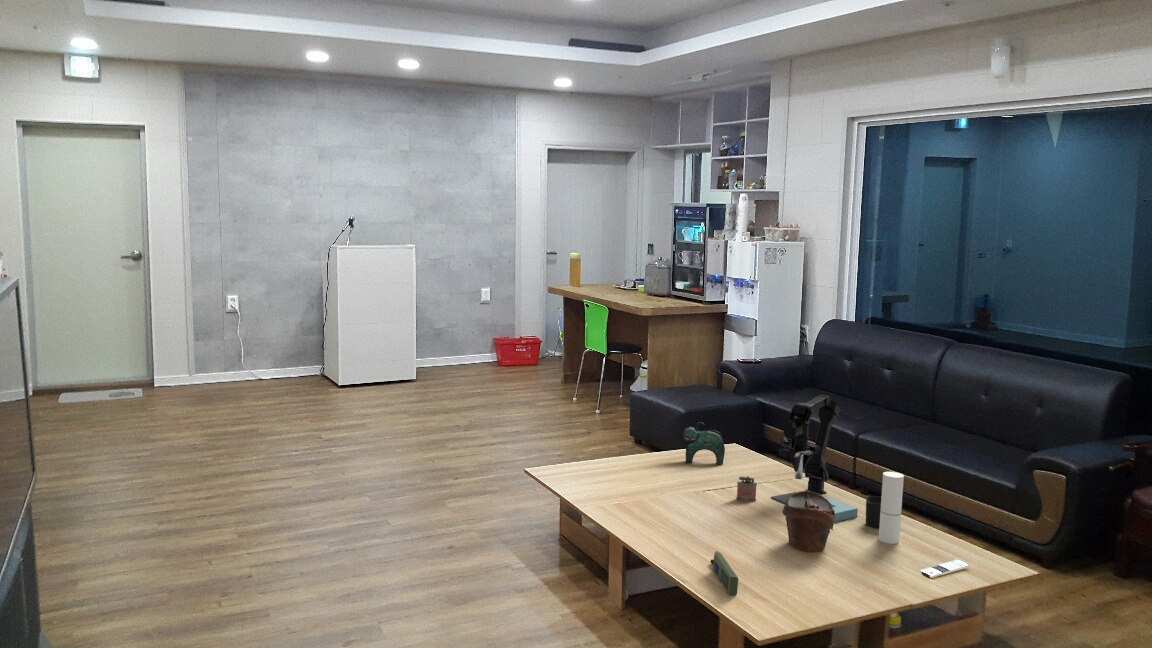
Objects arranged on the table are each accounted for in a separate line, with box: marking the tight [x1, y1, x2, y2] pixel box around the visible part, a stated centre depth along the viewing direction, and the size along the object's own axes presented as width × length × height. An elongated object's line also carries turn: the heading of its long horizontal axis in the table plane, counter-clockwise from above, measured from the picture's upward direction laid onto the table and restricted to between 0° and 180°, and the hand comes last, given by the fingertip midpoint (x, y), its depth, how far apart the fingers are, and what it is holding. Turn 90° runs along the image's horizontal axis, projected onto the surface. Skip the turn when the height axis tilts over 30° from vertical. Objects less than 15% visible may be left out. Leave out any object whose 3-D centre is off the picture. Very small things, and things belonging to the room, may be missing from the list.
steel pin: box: [794, 454, 804, 480], centre depth 361 cm, size 3×3×10 cm
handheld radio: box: [710, 550, 739, 597], centre depth 284 cm, size 7×3×25 cm
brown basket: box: [781, 490, 835, 553], centre depth 313 cm, size 18×20×18 cm
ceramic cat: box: [682, 421, 726, 466], centre depth 415 cm, size 20×6×20 cm, turn 80°
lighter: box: [736, 476, 758, 502], centre depth 363 cm, size 8×3×10 cm, turn 84°
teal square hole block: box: [823, 496, 859, 523], centre depth 348 cm, size 16×16×4 cm
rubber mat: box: [770, 491, 797, 505], centre depth 364 cm, size 14×14×1 cm
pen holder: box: [865, 495, 881, 530], centre depth 337 cm, size 9×9×10 cm
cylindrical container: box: [878, 471, 905, 545], centre depth 320 cm, size 7×7×25 cm
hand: (798, 471), depth 361 cm, fingers closed on steel pin, 3 cm apart
